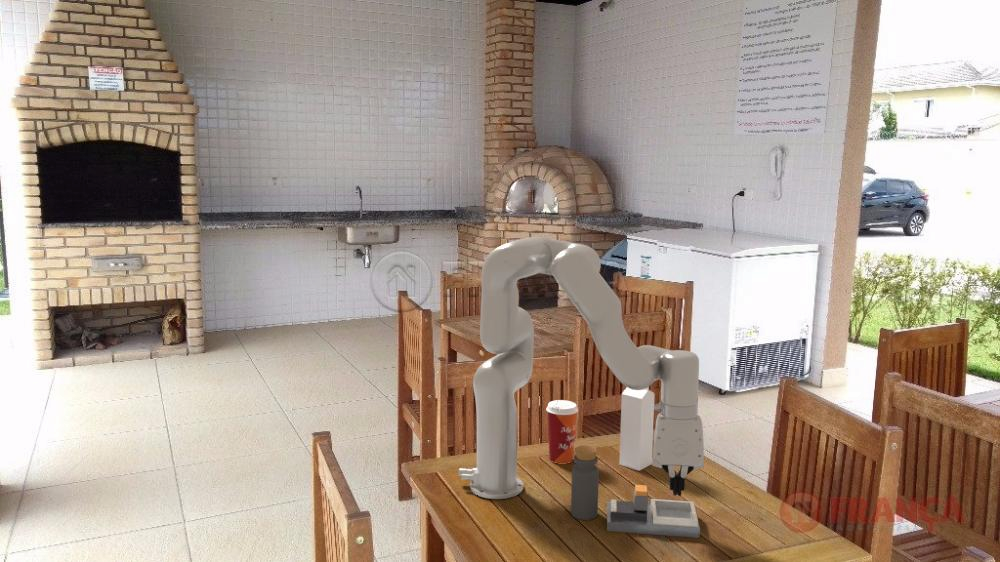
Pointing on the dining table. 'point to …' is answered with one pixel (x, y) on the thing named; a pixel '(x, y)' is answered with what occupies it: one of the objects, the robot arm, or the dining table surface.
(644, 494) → the toggle
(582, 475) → the bottle
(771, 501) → the dining table surface
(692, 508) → the panel
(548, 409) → the coffee cup
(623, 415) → the milk
